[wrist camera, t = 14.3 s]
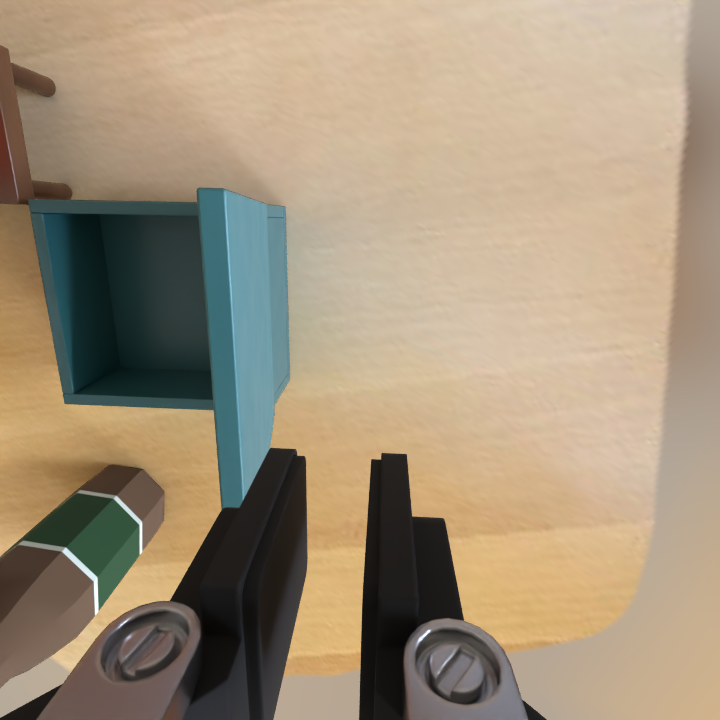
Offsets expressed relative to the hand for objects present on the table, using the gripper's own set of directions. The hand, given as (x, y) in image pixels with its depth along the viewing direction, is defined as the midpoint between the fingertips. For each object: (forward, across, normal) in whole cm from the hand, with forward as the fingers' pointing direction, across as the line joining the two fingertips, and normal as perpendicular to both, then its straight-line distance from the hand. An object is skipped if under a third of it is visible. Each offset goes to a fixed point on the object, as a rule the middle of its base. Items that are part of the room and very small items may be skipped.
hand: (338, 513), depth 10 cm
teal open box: (+27, +14, 0) cm, 31 cm away
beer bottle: (+27, +22, +19) cm, 40 cm away
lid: (+12, +6, 0) cm, 14 cm away
